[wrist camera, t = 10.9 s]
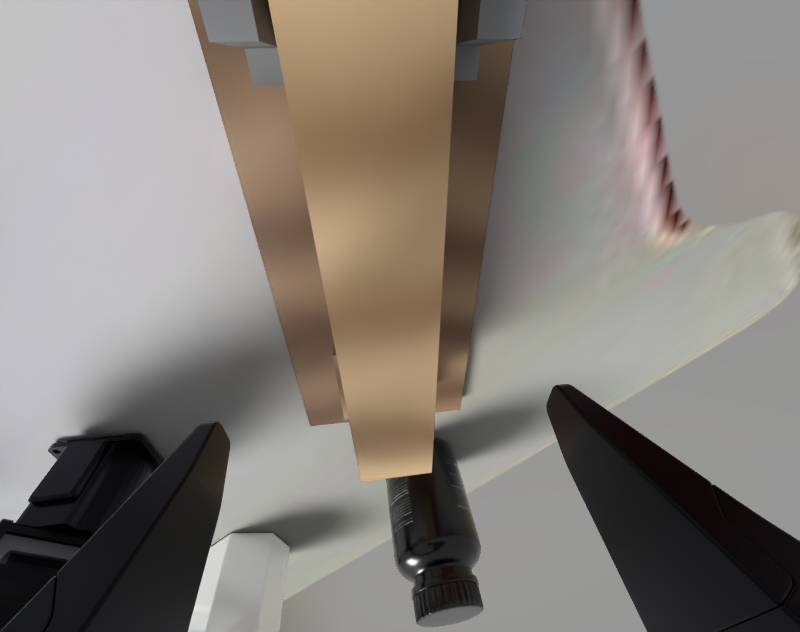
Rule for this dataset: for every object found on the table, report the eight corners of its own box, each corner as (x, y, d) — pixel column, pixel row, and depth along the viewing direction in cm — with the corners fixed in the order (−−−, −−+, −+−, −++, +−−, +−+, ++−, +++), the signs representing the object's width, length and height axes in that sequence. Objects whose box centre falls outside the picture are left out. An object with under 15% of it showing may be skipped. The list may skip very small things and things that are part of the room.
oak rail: (417, 402, 23) (431, 472, 19) (358, 408, 23) (360, 482, 19) (420, -87, 10) (469, -194, 6) (280, -88, 9) (229, -202, 5)
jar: (259, 565, 43) (233, 706, 34) (197, 553, 39) (148, 710, 30) (303, 539, 40) (288, 686, 31) (241, 523, 36) (202, 687, 27)
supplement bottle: (402, 482, 35) (422, 637, 26) (372, 452, 31) (381, 622, 22) (463, 460, 34) (508, 614, 24) (439, 426, 30) (482, 593, 20)
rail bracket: (457, 399, 28) (481, 475, 23) (311, 415, 27) (302, 498, 22) (542, -247, 10) (744, -576, 5) (121, -275, 9) (-183, -730, 4)
